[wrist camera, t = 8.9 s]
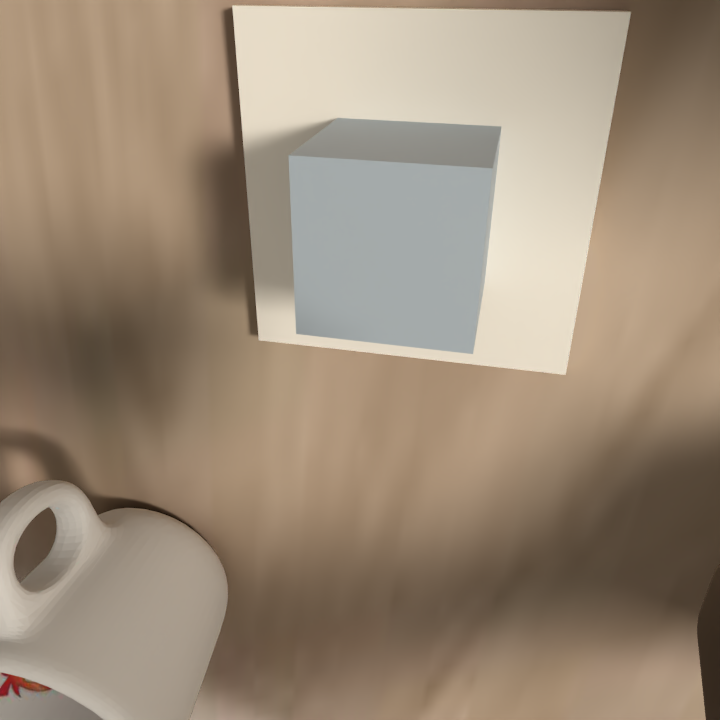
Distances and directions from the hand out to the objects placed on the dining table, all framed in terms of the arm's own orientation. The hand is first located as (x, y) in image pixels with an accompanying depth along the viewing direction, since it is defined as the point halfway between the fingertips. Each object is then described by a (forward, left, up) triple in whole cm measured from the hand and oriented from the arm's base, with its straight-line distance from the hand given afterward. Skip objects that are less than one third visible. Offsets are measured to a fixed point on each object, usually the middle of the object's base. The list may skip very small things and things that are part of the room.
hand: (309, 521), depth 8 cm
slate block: (+1, -1, -11) cm, 11 cm away
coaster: (+1, 0, -12) cm, 12 cm away
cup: (+11, +14, -12) cm, 21 cm away
